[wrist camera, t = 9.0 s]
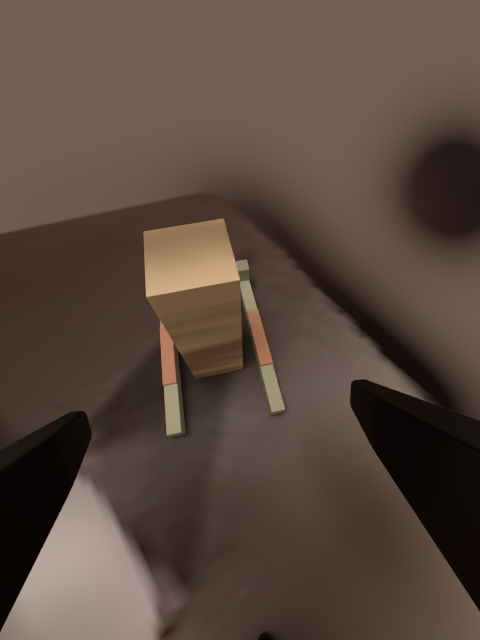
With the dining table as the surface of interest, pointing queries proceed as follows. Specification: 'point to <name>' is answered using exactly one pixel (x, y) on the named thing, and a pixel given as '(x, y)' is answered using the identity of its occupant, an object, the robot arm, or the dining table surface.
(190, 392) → the dining table surface
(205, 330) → the birch finger
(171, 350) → the sage rail
